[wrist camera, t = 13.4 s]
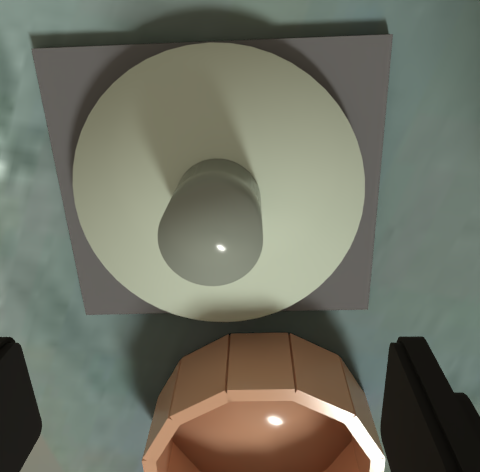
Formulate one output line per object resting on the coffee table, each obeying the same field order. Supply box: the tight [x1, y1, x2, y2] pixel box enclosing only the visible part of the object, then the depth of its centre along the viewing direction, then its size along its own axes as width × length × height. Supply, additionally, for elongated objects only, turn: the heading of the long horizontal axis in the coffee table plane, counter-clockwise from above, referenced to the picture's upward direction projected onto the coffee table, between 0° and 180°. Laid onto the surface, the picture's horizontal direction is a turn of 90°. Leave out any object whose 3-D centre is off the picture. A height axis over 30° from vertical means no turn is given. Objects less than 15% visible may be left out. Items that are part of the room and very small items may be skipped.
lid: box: [73, 42, 365, 322], centre depth 22 cm, size 15×15×6 cm
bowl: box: [142, 333, 385, 472], centre depth 29 cm, size 14×14×5 cm
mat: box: [32, 34, 393, 315], centre depth 25 cm, size 17×15×1 cm
